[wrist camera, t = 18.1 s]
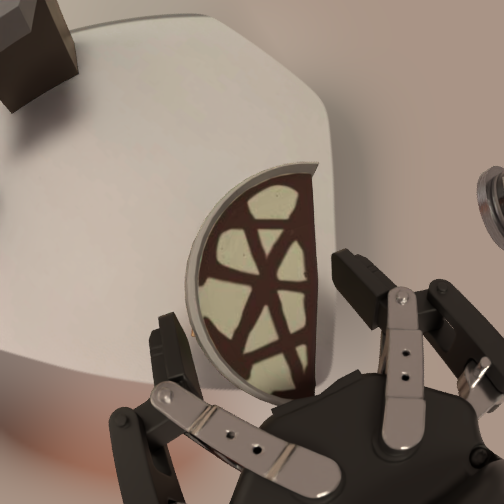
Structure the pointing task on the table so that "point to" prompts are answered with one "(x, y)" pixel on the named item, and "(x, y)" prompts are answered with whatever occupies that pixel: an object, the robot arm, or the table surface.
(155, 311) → the table surface
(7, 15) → the block
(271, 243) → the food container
